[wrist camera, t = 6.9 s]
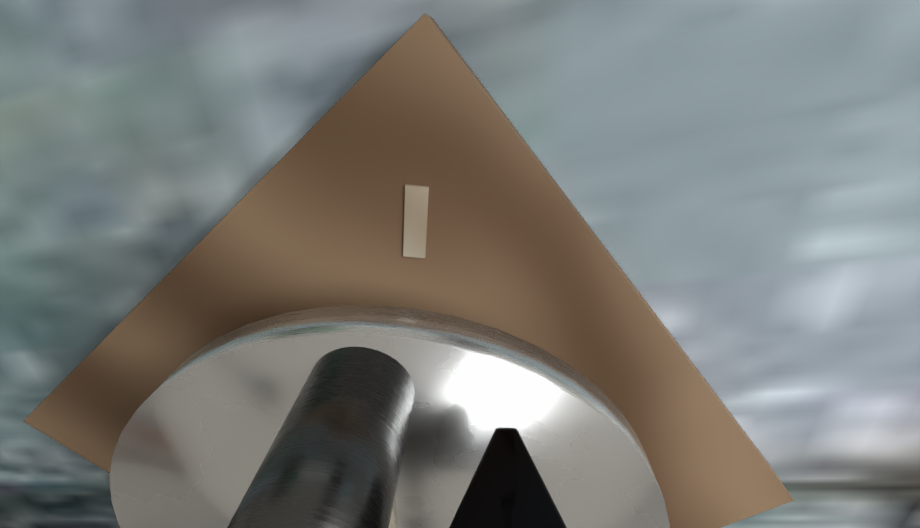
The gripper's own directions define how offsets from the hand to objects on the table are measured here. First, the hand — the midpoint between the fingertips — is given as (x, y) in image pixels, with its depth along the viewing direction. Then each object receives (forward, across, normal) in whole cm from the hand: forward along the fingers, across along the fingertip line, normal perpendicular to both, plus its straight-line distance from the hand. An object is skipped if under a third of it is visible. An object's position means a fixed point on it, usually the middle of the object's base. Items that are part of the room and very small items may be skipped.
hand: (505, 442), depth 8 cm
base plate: (+6, +4, +6) cm, 10 cm away
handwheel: (+4, +4, +6) cm, 9 cm away
